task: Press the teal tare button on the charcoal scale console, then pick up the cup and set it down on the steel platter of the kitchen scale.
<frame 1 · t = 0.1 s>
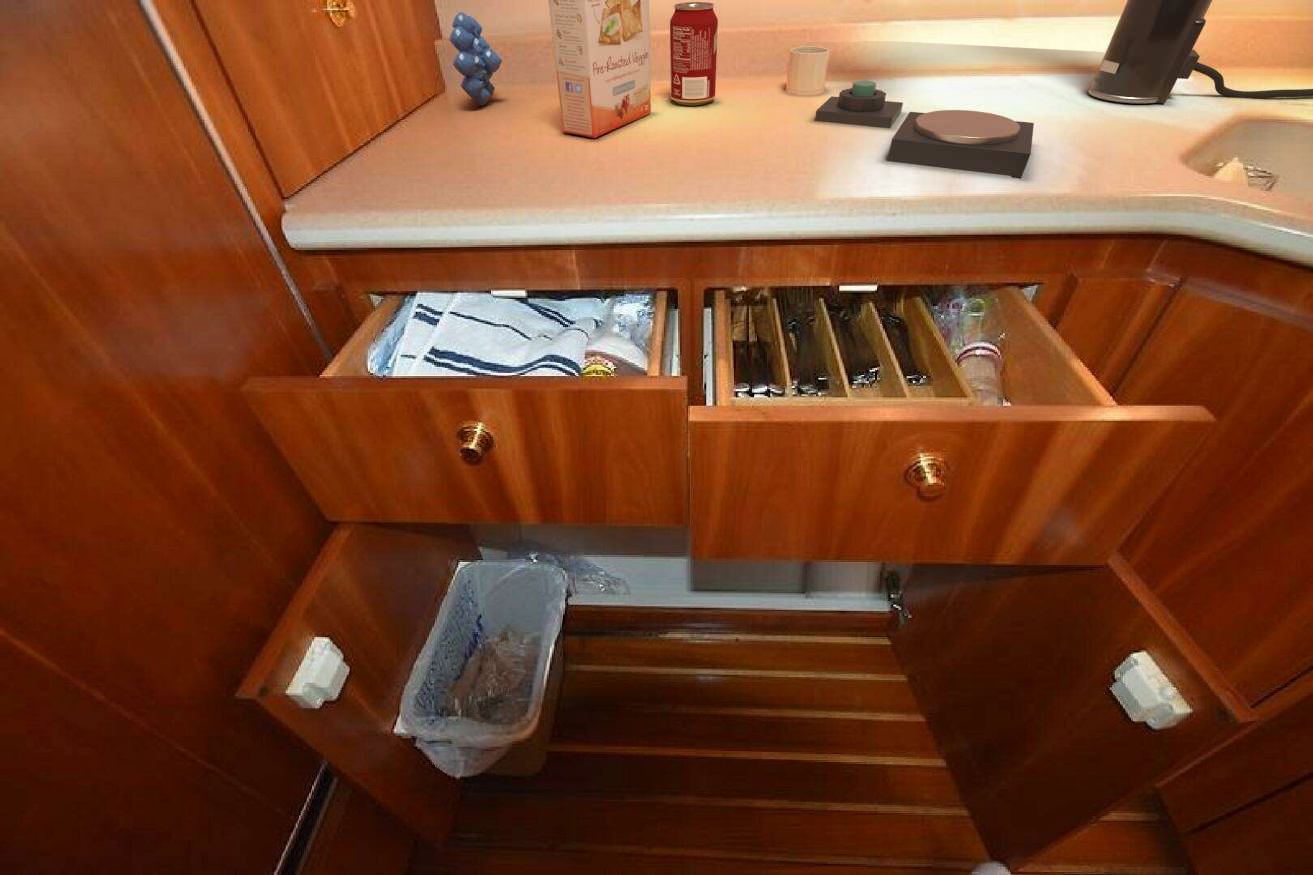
soda can: (692, 102, 89), on the worktop
tare button: (863, 89, 78), point 3 cm above the worktop, slide at 0.1 cm
grapes: (488, 106, 91), on the worktop
console: (858, 117, 81), on the worktop
scale: (957, 153, 69), on the worktop
cup: (804, 91, 92), on the worktop
cracker box: (610, 125, 82), on the worktop
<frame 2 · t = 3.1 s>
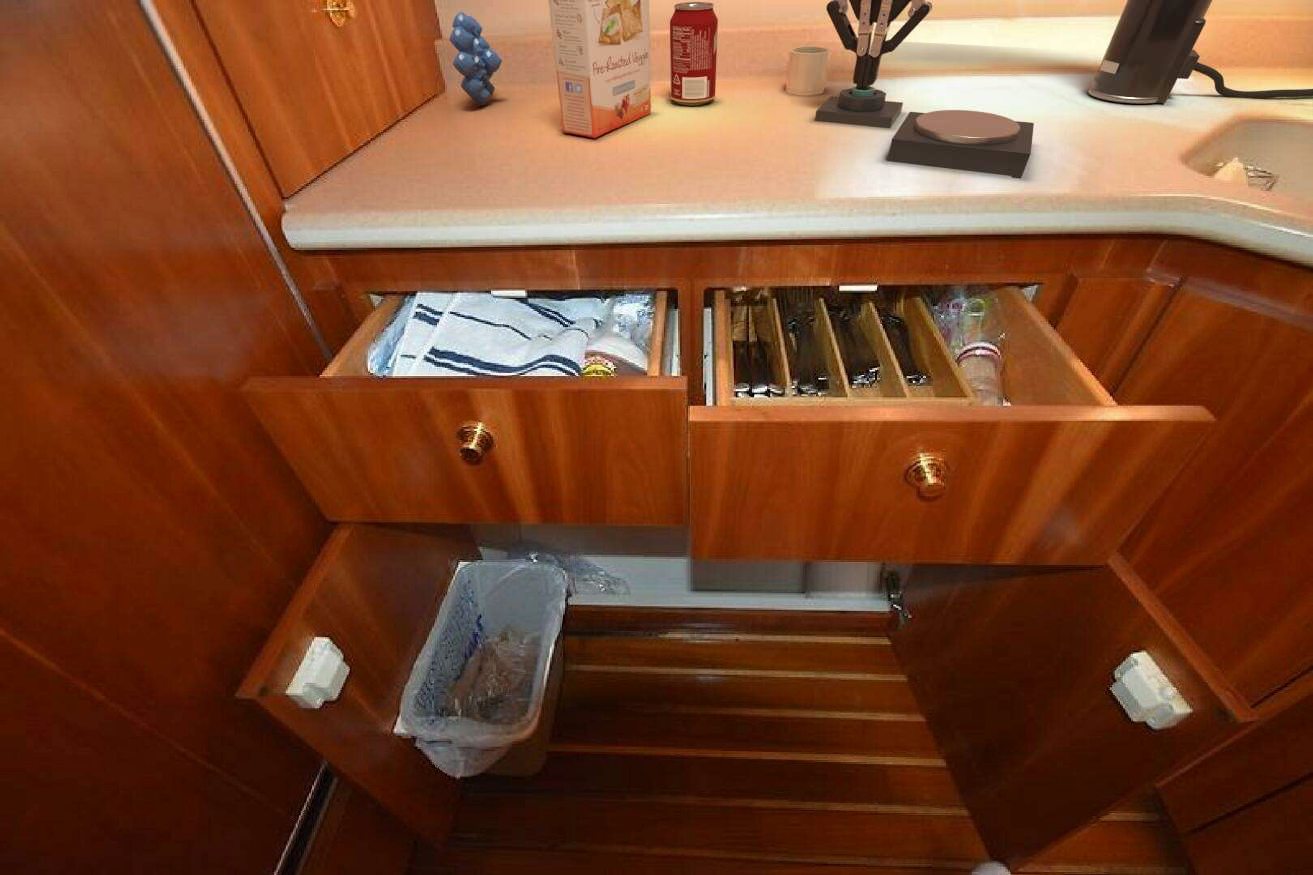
hand: (862, 88, 78), 4 cm above the worktop, tool pointing down, fingers closed
tare button: (862, 94, 79), point 3 cm above the worktop, slide at -0.5 cm, touching gripper
everything else where it was.
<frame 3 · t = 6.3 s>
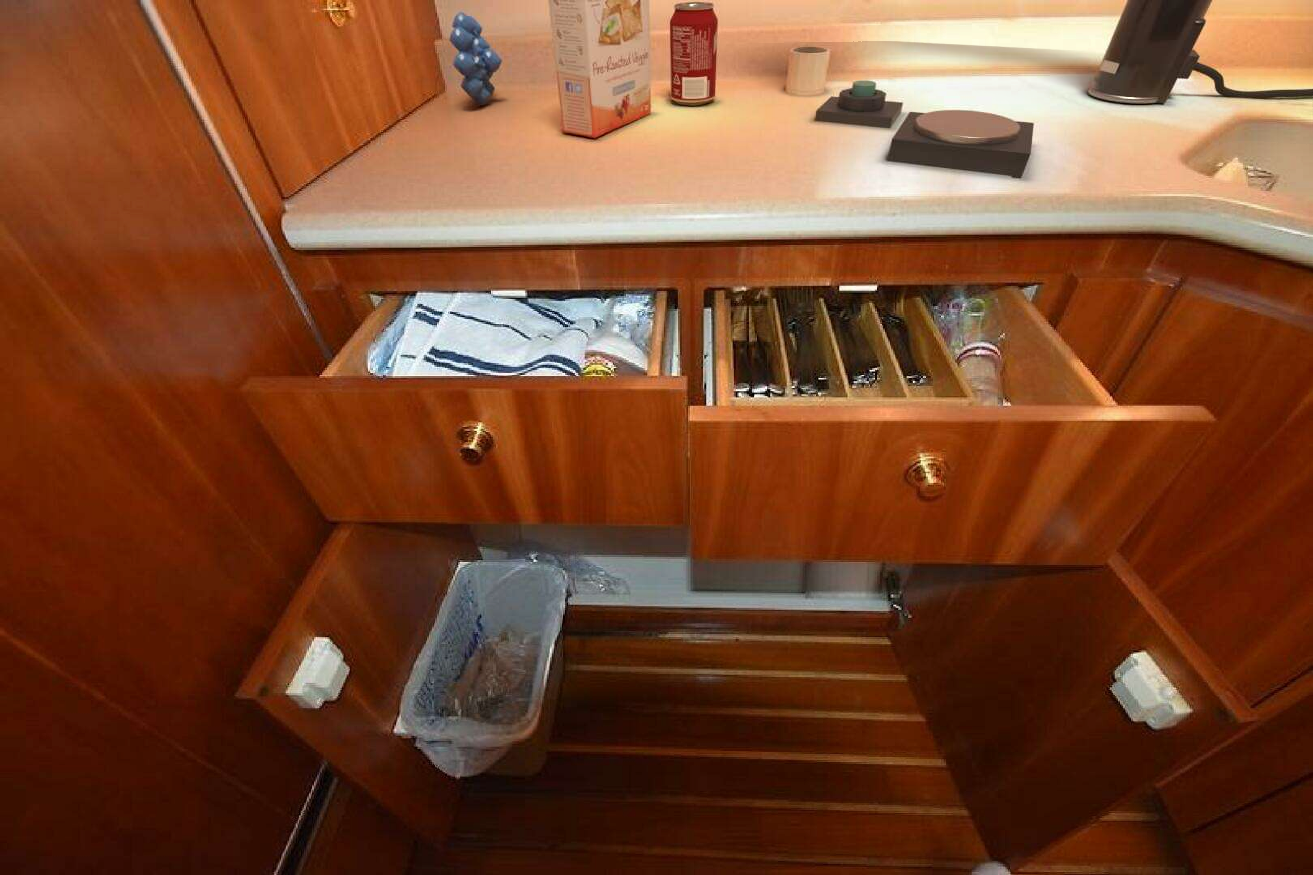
tare button: (863, 89, 78), point 3 cm above the worktop, slide at 0.1 cm
everything else where it was.
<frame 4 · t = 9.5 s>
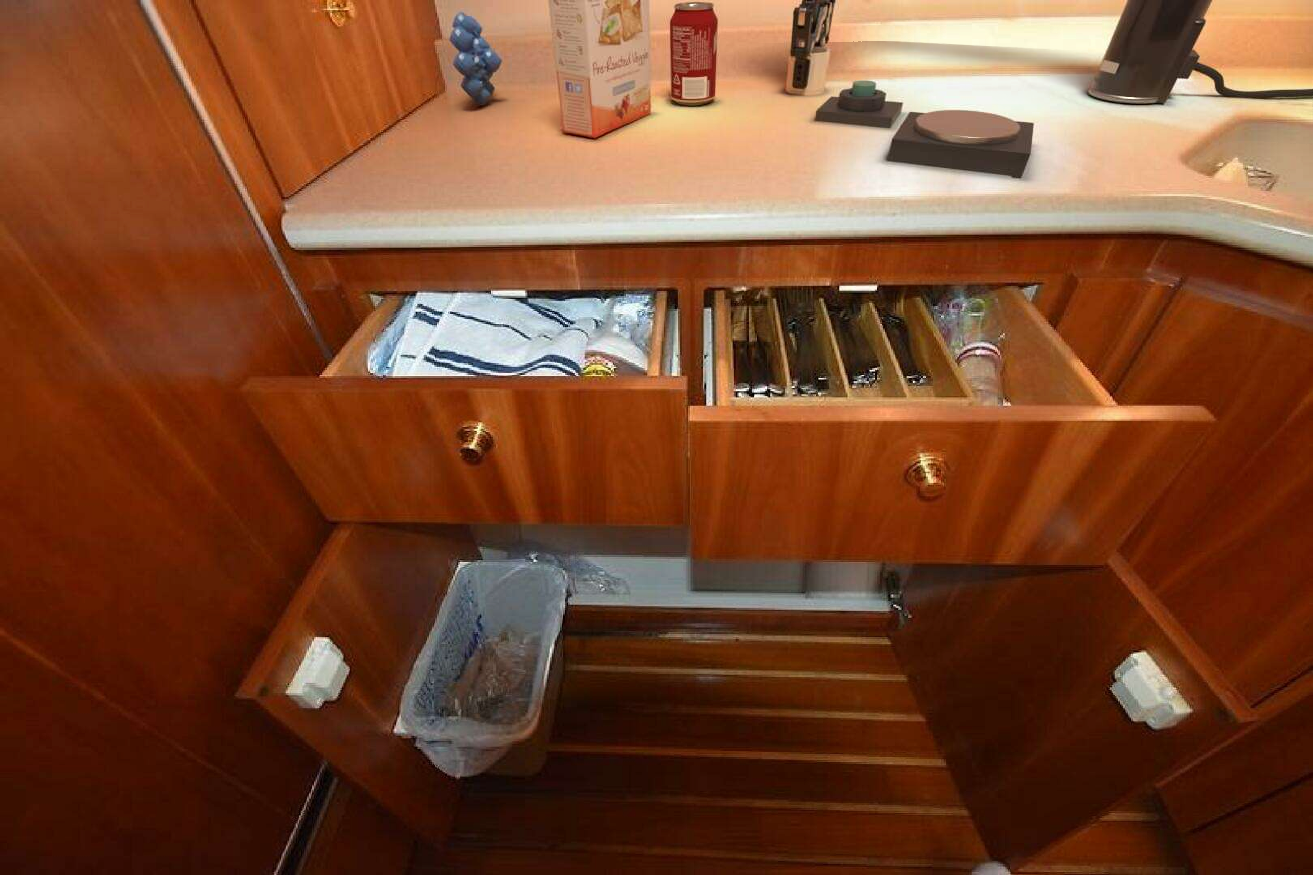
hand: (805, 82, 92), 1 cm above the worktop, tool pointing down, fingers closed on cup, 6 cm apart
cup: (804, 91, 92), on the worktop, touching gripper
everything else where it was.
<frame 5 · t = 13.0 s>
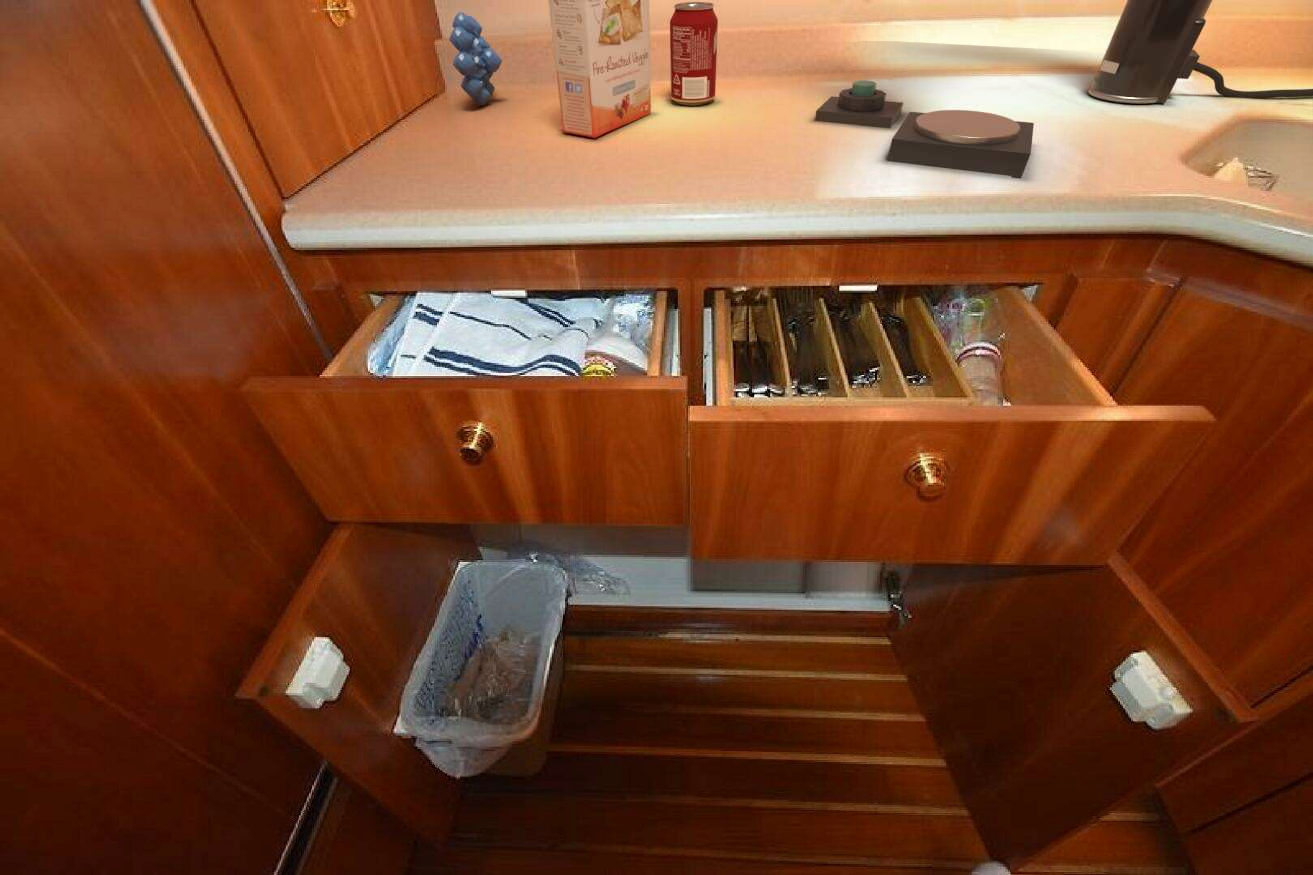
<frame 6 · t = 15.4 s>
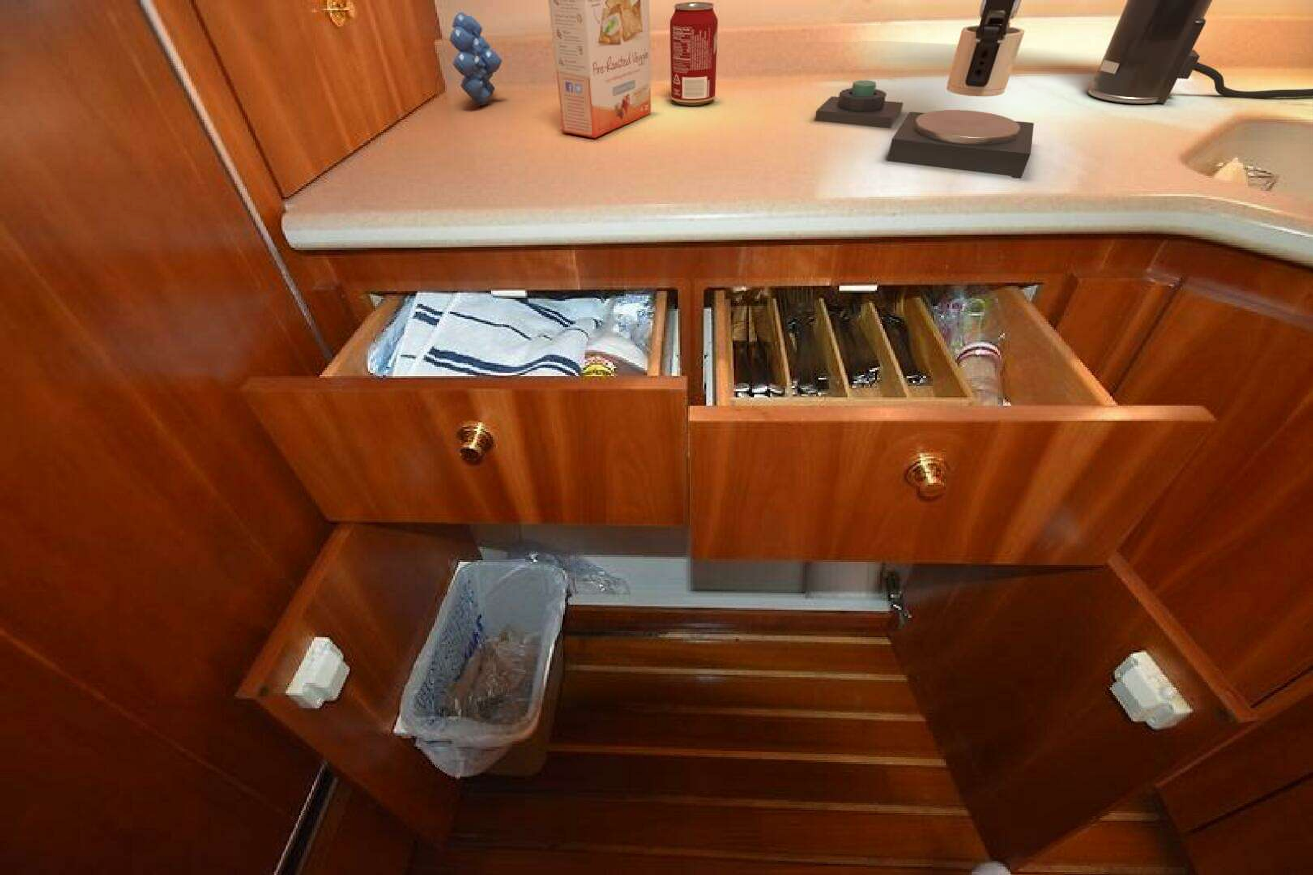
hand: (978, 78, 64), 8 cm above the worktop, tool pointing down, fingers closed on cup, 6 cm apart
cup: (974, 89, 64), point 7 cm above the worktop, touching gripper
everything else where it was.
when the fingers open (4 cm above the worktop, at t = 16.8 s): cup stays where it is, resting on scale.
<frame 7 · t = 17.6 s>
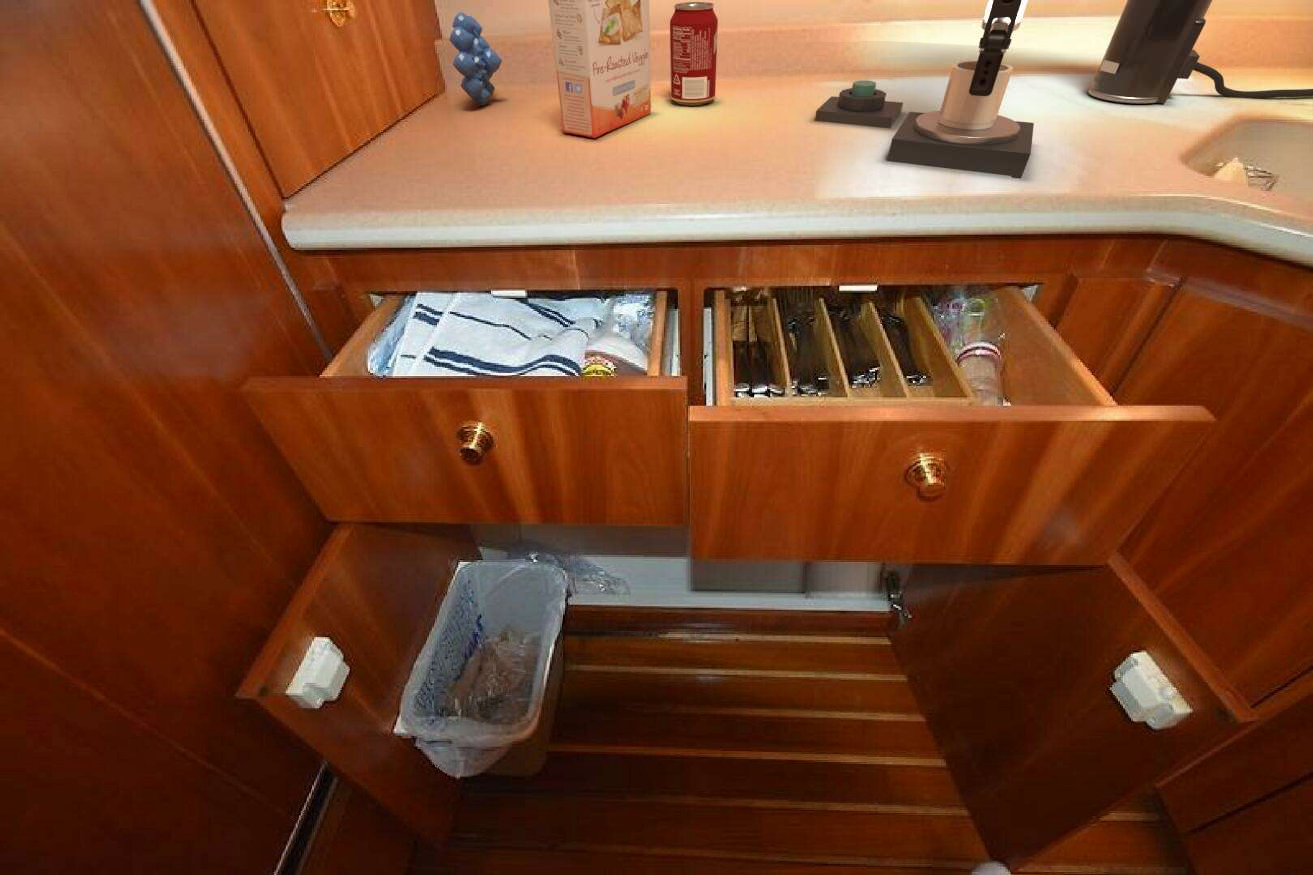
hand: (982, 85, 64), 7 cm above the worktop, tool pointing down, fingers open, 8 cm apart
cup: (965, 122, 67), point 3 cm above the worktop, touching scale
everything else where it was.
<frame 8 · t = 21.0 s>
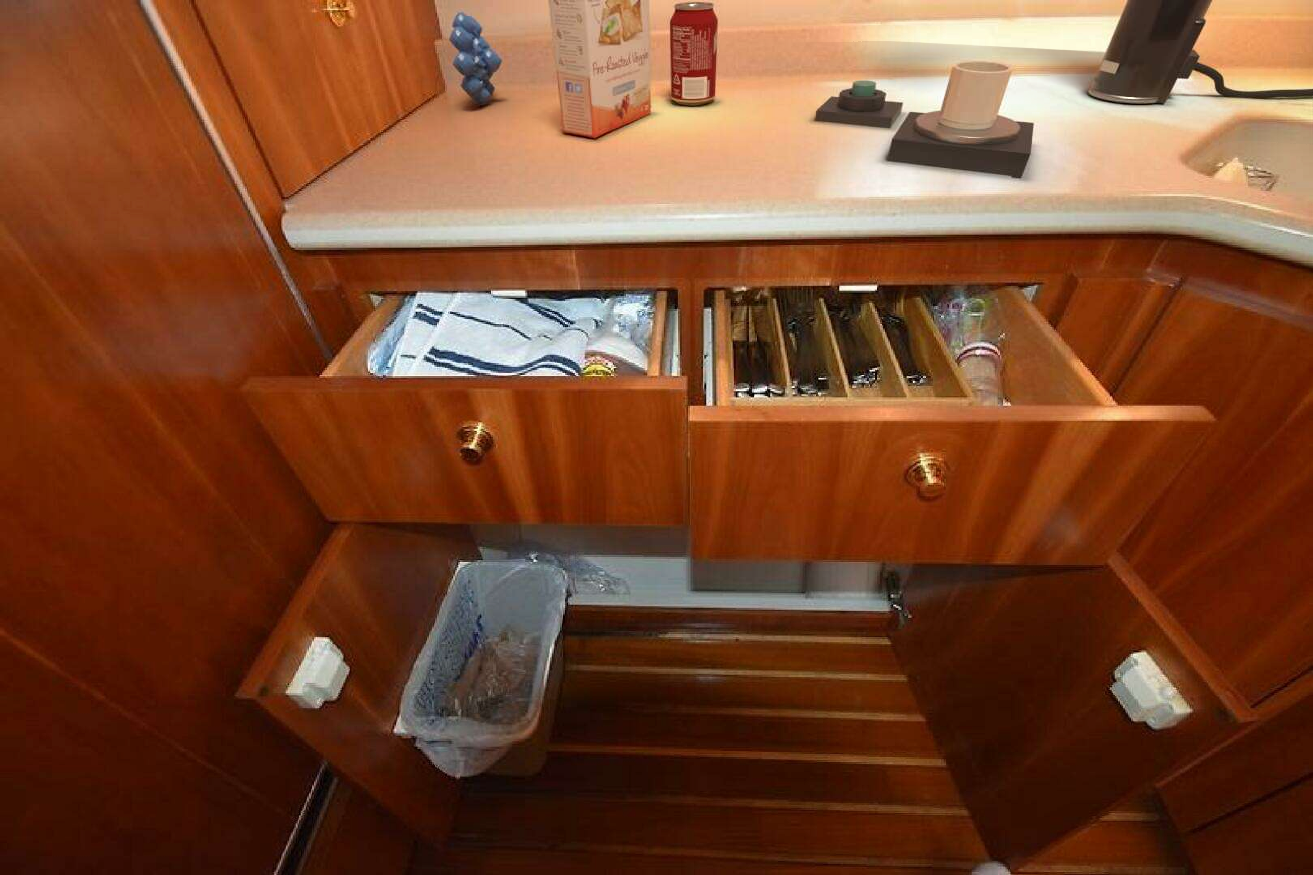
nothing on the worktop moved.
at the end: tare button pushed in 0.9 cm at the most during the clip, back to where it started at the end; cup inside the target area on the scale (0.2 cm from its centre), point 3.3 cm above the scale's base; cup tilted 0° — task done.
